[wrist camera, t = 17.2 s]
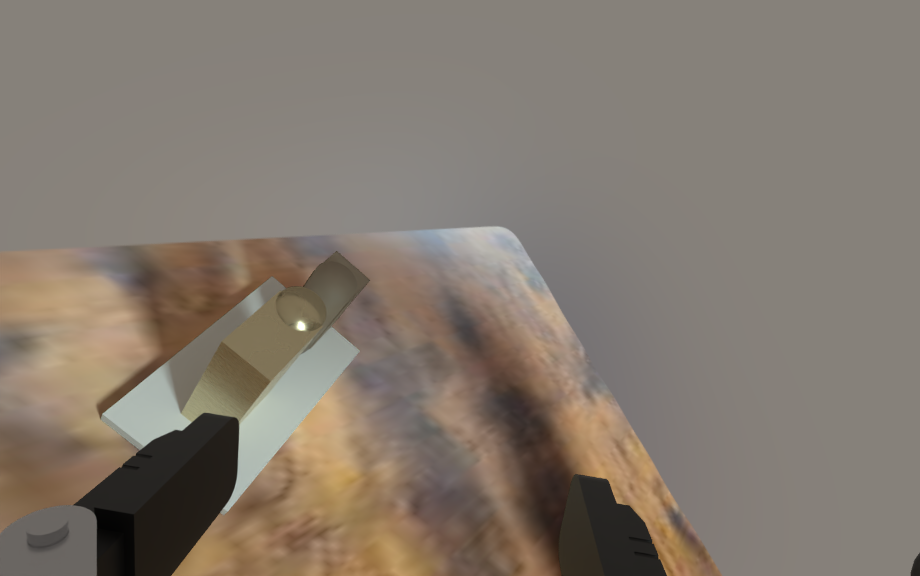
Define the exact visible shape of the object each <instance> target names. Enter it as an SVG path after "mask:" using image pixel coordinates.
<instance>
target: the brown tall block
mask: <svg viewBox="0 0 920 576" xmlns="http://www.w3.org/2000/svg"><path fill="white" fill-rule="evenodd" d="M326 316H327V311H326V307H325V304H324V302H323V300H322V299H321V298H320V297H319V296H318V295H317V294H316V293H315V292H313V291H312V290H310V289H307V288H304V287H299V286H294V287H289V288H286V289H284V290H283V291H279V292H278V293H277V294H276V295H274V296H273V297H272V298H271V299H270V300H269V301H267V302H266V303H265V304H264V305H263V306H262V307H261V308H259V309H258V310H257V311H256V312H255V313H254V314H252V315H251V316H250V317H249V318H248V319H247V320H246V321H244V322H243V323H242V324H241V325H240V326H239V327H237V328H236V329H235V330H234V331H233V332H232V333H231V334H229V335H228V336H227V337H226V338H225V339H224V340H222V342H221V343H220V345H219V347H218V349H217V350H216V352H215V354H214V356H213V358H212V359H211V361H210V363H209V365H208V366H207V368H206V370H205V372H204V373H203V375H202V377H201V379H200V381H199V382H198V384H197V386H196V388H195V389H194V391H193V393H192V395H191V397H190V398H189V400H188V402H187V404H186V405H185V407H184V409H183V411H182V413H181V414H182V415H183V416H184V417H186V418H187V419H188V420H189V421H191V422H193V421H194V420H195V419H196V418H197V417H198V416H200V415H201V414H202V413H212V414H218V415H224V416H230V417H236V418H237V419H238V421H239V425H240V424H241V423H242V421H243V420H244V419H245V418H246V417H247V416H248V415H249V414H250V413H251V412H252V411H253V410H254V409H255V408H256V406H257V405H258V404H259V403H260V402H261V401H262V400H263V399H264V398H265V397H266V396H267V395H268V394H269V392H270V391H271V390H272V389H273V387H274V386H275V385H276V384H277V382H278V381H279V380H280V379H281V378H282V376H283V375H284V374H285V373H286V371H287V370H288V369H289V368H290V367H291V365H292V364H293V363H294V362H295V360H296V359H297V358H298V357H299V355H300V354H301V353H302V352H303V351H304V349H305V348H306V347H307V346H308V344H309V343H310V342H311V341H312V339H313V338H314V337H315V336H316V335H317V333H318V332H319V331H320V330H321V328H322V327H323V326H322V325H323V323H324V322H325V319H326Z"/></svg>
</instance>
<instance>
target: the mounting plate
mask: <svg viewBox="0 0 920 576" xmlns="http://www.w3.org/2000/svg"><path fill="white" fill-rule="evenodd" d="M369 281H370V280H369V279H368V278H367V277H366V276H365V275H364V274H363V273H361V272H360V271H359V270H358V269H357V268H356V267H354V266H353V265H352V264H351V263H350V262H349V261H348V260H346V259H345V258H344V257H343V256H342V255H341V254H340V253H338V252H337V251H336V252H335V253H334V254H333V255H331V256H330V257H329V258H328V259H327V260H326V261H325V262H323V263H322V264H320V265H319V266H318V267H317V268H316V270H314V271H313V273H312V274H311V276H310V277H309V279H308V280H307V282H306V283H305V285H304V286H303V287H304V288H307V289H310V290H312V291H313V292H315V293H316V294H317V295H318V296H319V297H320V298H321V299H322V300H323V302H324V304H325V307H326V311H327V316H326V319H325V322H324V323H323V325H322V326H323V327H322V328H321V330H320V331H319V332H318V333H317V335H316V336H315V337H314V338H313V339H312V341H311V342H310V343H309V344H308V346H307V347H306V348H305V349H304V351H303V352H302V353H301V354H300V355H299V357H298V358H297V359H296V360H295V362H294V363H293V364H292V365H291V367H290V368H289V369H288V370H287V371H286V373H285V374H284V375H283V376H282V378H281V379H280V380H279V381H278V382H277V384H276V385H275V386H274V387H273V389H272V390H271V391H270V392H269V394H268V395H267V396H266V397H265V398H264V399H263V400H262V401H261V402H260V403H259V404H258V405H257V406H256V408H255V409H254V410H253V411H252V412H251V413H250V414H249V415H248V416H247V417H246V418H245V419H244V420H243V421H242V423H241V424H240V425H239V450H238V472H237V480H236V485H235V488H234V491H233V493H232V496H231V498H230V500H229V501H228V503H227V504H226V505H225V507H224V508H223V509H222V511H221V512H220V513H221V514H223V515H224V514H225V513H227V512H228V510H229V509H230V508H231V507H232V506H233V504H234V503H235V502H236V501H237V500H238V498H239V497H240V496H241V495H242V493H243V492H244V491H245V490H246V489H247V487H248V486H249V485H250V484H251V483H252V481H253V480H254V479H255V478H256V476H257V475H258V474H259V473H260V472H261V470H262V469H263V468H264V467H265V466H266V464H267V463H268V462H269V461H270V459H271V458H272V457H273V456H274V455H275V453H276V452H277V451H278V450H279V449H280V447H281V446H282V445H283V444H284V442H285V441H286V440H287V439H288V438H289V436H290V435H291V434H292V433H293V432H294V430H295V429H296V428H297V427H298V425H299V424H300V423H301V422H302V421H303V419H304V418H305V417H306V416H307V415H308V413H309V412H310V411H311V410H312V409H313V407H314V406H315V405H316V404H317V402H318V401H319V400H320V399H321V398H322V396H323V395H324V394H325V393H326V392H327V390H328V389H329V388H330V387H331V385H332V384H333V383H334V382H335V381H336V379H337V378H338V377H339V376H340V375H341V373H342V372H343V371H344V370H345V368H346V367H347V366H348V365H349V364H350V362H351V361H352V360H353V359H354V358H355V356H356V355H357V354H358V353H359V350H358V349H357V348H356V347H355V346H354V345H352V344H351V343H350V342H349V341H348V340H347V339H345V338H344V337H343V336H342V335H341V334H339V333H338V332H337V331H336V330H335V329H334V328H332V327H331V326H332V325H333V324H334V323H335V322H336V320H337V319H338V318H339V317H340V316H341V314H342V313H343V312H344V311H345V310H346V308H347V307H348V306H349V305H350V304H351V302H352V301H353V300H354V299H355V298H356V296H357V295H358V294H359V293H360V292H361V290H362V289H363V288H364V287H365V286H366V285H367V283H368V282H369ZM284 289H286V288H285V287H284V286H283V285H282V284H281V283H280V282H278V281H277V280H276V279H275V278H274V277H273V276H272V277H270V278H269V279H268V280H267V281H266V282H264V283H263V284H262V285H261V286H259V287H258V288H257V289H256V290H254V291H253V292H252V293H251V294H249V295H248V296H247V297H246V298H245V299H243V300H242V301H241V302H240V303H238V304H237V305H236V306H235V307H233V308H232V309H231V310H230V311H229V312H227V313H226V314H225V315H224V316H222V317H221V318H220V319H219V320H217V321H216V322H215V323H214V324H213V325H211V326H210V327H209V328H208V329H206V330H205V331H204V332H203V333H201V334H200V335H199V336H198V337H197V338H195V339H194V340H193V341H192V342H190V343H189V344H188V345H187V346H185V347H184V348H183V349H182V350H181V351H179V352H178V353H177V354H176V355H174V356H173V357H172V358H171V359H169V360H168V361H167V362H166V363H165V364H163V365H162V366H161V367H160V368H158V369H157V370H156V371H155V372H153V373H152V374H151V375H150V376H149V377H147V378H146V379H145V380H144V381H142V382H141V383H140V384H139V385H137V386H136V387H135V388H134V389H133V390H131V391H130V392H129V393H128V394H126V395H125V396H124V397H123V398H121V399H120V400H119V401H118V402H117V403H115V404H114V405H113V406H112V407H110V408H109V409H108V410H107V411H105V412H104V413H103V414H102V417H101V420H102V421H103V422H105V423H106V424H107V425H108V426H110V427H111V428H112V429H114V430H115V431H116V432H117V433H119V434H120V435H121V436H122V437H124V438H125V439H126V440H128V441H129V442H130V443H131V444H133V445H134V446H135V447H137V448H138V449H139V450H141V449H142V448H143V447H145V446H146V445H147V444H148V443H150V442H151V441H152V440H154V439H156V438H158V437H160V436H162V435H165V434H167V433H169V432H171V431H174V430H181V431H182V430H184V429H185V428H186V427H187V426H188V425H189V424H190V423H192V422H191V421H189V420H188V419H187V418H186V417H184V416H183V415H182V414H181V413H182V411H183V409H184V407H185V405H186V404H187V402H188V400H189V398H190V397H191V395H192V393H193V391H194V389H195V388H196V386H197V384H198V382H199V381H200V379H201V377H202V375H203V373H204V372H205V370H206V368H207V366H208V365H209V363H210V361H211V359H212V358H213V356H214V354H215V352H216V350H217V349H218V347H219V345H220V343H221V342H222V340H224V339H225V338H226V337H227V336H228V335H229V334H231V333H232V332H233V331H234V330H235V329H236V328H237V327H239V326H240V325H241V324H242V323H243V322H244V321H246V320H247V319H248V318H249V317H250V316H251V315H252V314H254V313H255V312H256V311H257V310H258V309H259V308H261V307H262V306H263V305H264V304H265V303H266V302H267V301H269V300H270V299H271V298H272V297H273V296H274V295H276V294H277V293H278V292H279V291H283V290H284Z"/></svg>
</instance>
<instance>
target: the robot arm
mask: <svg viewBox="0 0 920 576" xmlns="http://www.w3.org/2000/svg"><path fill="white" fill-rule="evenodd" d="M238 450H239V421H238V419H237V418H236V417H230V416H224V415H218V414H212V413H202V414H201V415H200V416H198V417H197V418H196V419H195V420H194V421H193V422H192V423H190V424H189V425H188V426H187V427H186V428H185V429H184V430H182V431H181V430H174V431H171V432H169V433H167V434H165V435H162V436H160V437H158V438H156V439H154V440H152V441H151V442H150V443H148V444H147V445H146V446H145V447H143V448H142V449H141V450H140V451H139V452H137V453H136V456H133V457H131V458H130V459H129V460H128V461H126V462H125V463H124V464H123V466H122V468H120V467H119V468H118V469H117V470H115V471H114V472H113V473H112V474H111V475H109V476H108V477H107V478H106V479H105V480H103V481H102V482H101V483H100V484H98V485H97V486H96V487H95V488H94V489H92V490H91V491H90V492H89V493H88V494H86V495H85V496H84V497H83V498H81V499H80V500H79V501H78V502H77V503H75V504H74V505H64V506H55V507H50V508H46V509H42V510H39V511H36V512H33V513H31V514H28V515H26V516H24V517H22V518H20V519H18V520H17V521H15V522H13V523H12V524H10V525H9V526H8V527H7V528H5V529H4V530H3V532H2V533H1V534H0V576H171V575H172V574H173V573H174V571H175V570H176V569H177V567H178V566H179V565H180V564H181V562H182V561H183V560H184V558H185V557H186V556H187V555H188V553H189V552H190V551H191V549H192V548H193V547H194V545H195V544H196V543H197V542H198V540H199V539H200V538H201V536H202V535H203V534H204V533H205V531H206V530H207V529H208V527H209V526H210V525H211V524H212V522H213V521H214V520H215V518H216V517H217V516H218V514H219V513H220V512H221V511H222V509H223V508H224V507H225V505H226V504H227V503H228V501H229V500H230V498H231V496H232V493H233V491H234V488H235V485H236V480H237V472H238ZM559 562H560V568H561V574H562V576H667V575H666V572H665V570H664V568H663V565H662V563H661V560H660V559H658V553H657V551H656V549H655V546H654V544H652V539H651V537H650V534H649V532H648V529H647V527H646V525H645V522H644V521H643V520H642V519H641V518H640V517H639V516H638V515H637V514H636V513H635V511H634V510H633V509H632V508H631V507H630V506H628V505H622V504H617V503H616V501H615V498H614V495H613V492H612V489H611V487H610V484H609V481H608V480H607V479H602V478H596V477H590V476H584V475H578V474H575V475H574V476H573V478H572V481H571V485H570V490H569V494H568V499H567V503H566V507H565V512H564V516H563V521H562V525H561V530H560V536H559ZM911 576H920V553H919V554H918V556H917V557H916V559H915V561H914V564H913V567H912V570H911Z"/></svg>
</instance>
